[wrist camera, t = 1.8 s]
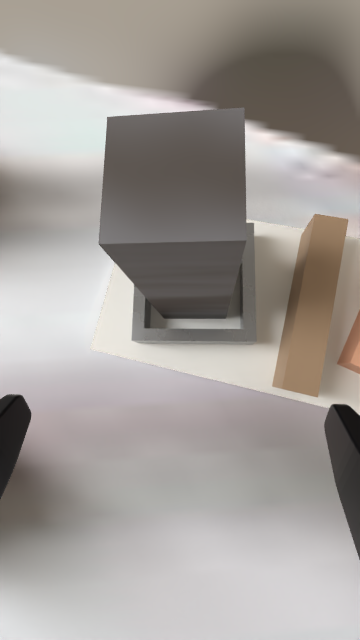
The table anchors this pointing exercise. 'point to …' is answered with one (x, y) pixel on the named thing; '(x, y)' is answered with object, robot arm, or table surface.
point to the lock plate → (265, 319)
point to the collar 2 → (352, 348)
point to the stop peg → (177, 207)
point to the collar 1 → (205, 336)
